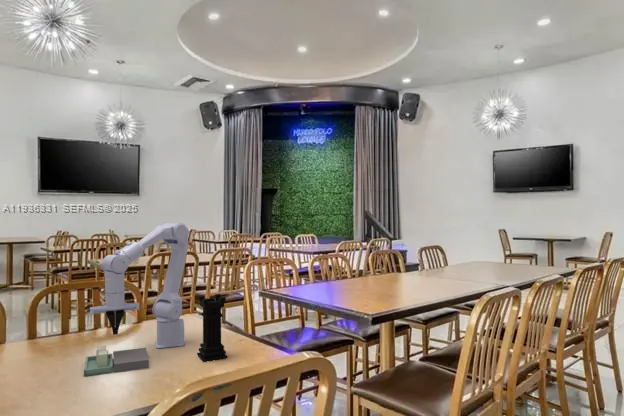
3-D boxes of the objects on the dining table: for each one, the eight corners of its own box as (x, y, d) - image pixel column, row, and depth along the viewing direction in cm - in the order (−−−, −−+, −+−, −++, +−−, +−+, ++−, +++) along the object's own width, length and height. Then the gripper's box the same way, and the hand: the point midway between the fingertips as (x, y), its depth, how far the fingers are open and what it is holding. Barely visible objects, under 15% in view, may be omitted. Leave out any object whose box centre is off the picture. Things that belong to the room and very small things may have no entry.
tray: (112, 359, 149) (112, 353, 149) (112, 372, 137) (112, 366, 137) (86, 362, 146) (86, 356, 146) (83, 376, 134) (83, 370, 134)
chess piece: (203, 362, 146) (202, 300, 146) (197, 355, 153) (196, 295, 153) (227, 358, 150) (227, 297, 150) (220, 351, 157) (220, 293, 157)
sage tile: (108, 349, 143) (99, 350, 142) (106, 354, 138) (97, 355, 138) (108, 364, 143) (99, 365, 142) (107, 369, 139) (97, 370, 138)
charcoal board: (145, 354, 154) (145, 347, 154) (148, 367, 141) (148, 359, 141) (113, 359, 150) (113, 351, 150) (113, 372, 137) (113, 364, 137)
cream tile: (105, 345, 147) (97, 346, 147) (105, 349, 143) (96, 350, 142) (105, 359, 147) (97, 360, 147) (105, 363, 143) (96, 364, 142)
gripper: (137, 288, 154) (137, 328, 155) (89, 291, 148) (90, 333, 148) (139, 291, 148) (140, 333, 148) (90, 295, 142) (90, 339, 142)
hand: (115, 333), depth 148 cm, fingers closed
